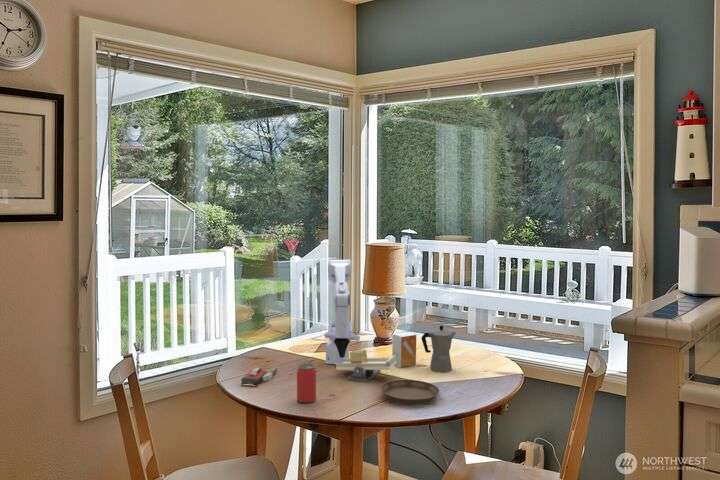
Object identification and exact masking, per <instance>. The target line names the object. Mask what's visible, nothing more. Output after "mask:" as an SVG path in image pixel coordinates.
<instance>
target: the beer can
mask: <svg viewBox="0 0 720 480" xmlns="http://www.w3.org/2000/svg"><path fill="white" fill-rule="evenodd" d="M296 399H297V401H298V402H299V401H301V402H311V403H313V402H315V401H316V399H317V371H316V367H315V365H314V364H309V363H305V364H300V365H298V367H297V371H296ZM301 402H300V403H301Z"/></svg>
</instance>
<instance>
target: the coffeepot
mask: <svg viewBox="0 0 720 480" xmlns="http://www.w3.org/2000/svg"><path fill="white" fill-rule="evenodd" d="M456 334H457V333H456V332H455V331H450V330H445V329H444V325H440V326H439V329H436V330H432V331H430V332H429V331H428V332H424V333H423V334H422V336H421V342H422V345H423V348H424V351H425V353H431V352H432V354H431V360H430V365H429V368H430V369H429V370H431V371H432V372H435V373H449V372H451V371H452V370H453V369H452V362H451V361H452V360H451V356H450V355H451V353H450V350H451V346H452V342H453V341H452V340H453V338H454V337H455V335H456ZM427 338H431V339H430V340H431V341H430V342H431V347H432V351H431V349H429V347H428V344H427V343H428V342H427Z"/></svg>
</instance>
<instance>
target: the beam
mask: <svg viewBox="0 0 720 480" xmlns="http://www.w3.org/2000/svg"><path fill="white" fill-rule="evenodd" d="M396 364H397V361H396V355H393V356H392V355H391V357H367V363H351V360H350V357H349V358H344V362H343V363H336V364H335V367H336V368H335V369H336V371H355V367H359V368H363V370H380V371H382V370H384V371H387V370H388V371H389V370H391V369H392V368H393V367H395V365H396Z"/></svg>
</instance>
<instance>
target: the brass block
mask: <svg viewBox="0 0 720 480" xmlns="http://www.w3.org/2000/svg"><path fill="white" fill-rule="evenodd" d="M367 353H368V352H367V349H354V350H352V351H351V352H350V351H349V358H350V360H351V363H367V358H368V354H367Z"/></svg>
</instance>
